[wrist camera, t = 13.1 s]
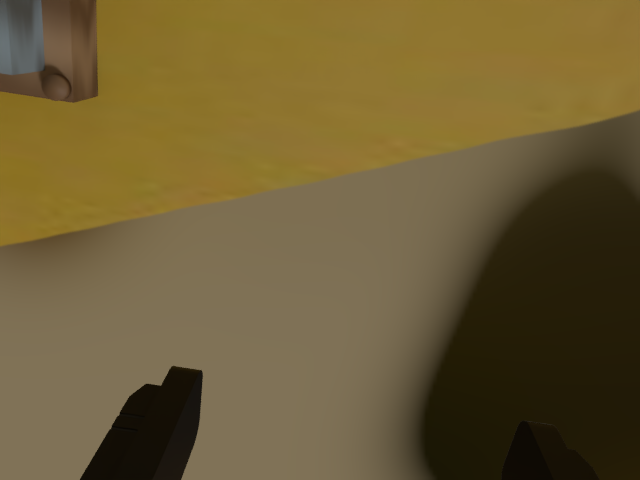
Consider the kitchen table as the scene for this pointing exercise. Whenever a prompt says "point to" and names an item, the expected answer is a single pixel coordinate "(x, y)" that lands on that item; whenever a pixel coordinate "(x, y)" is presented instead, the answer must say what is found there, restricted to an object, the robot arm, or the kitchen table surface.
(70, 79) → the knobbed square tray
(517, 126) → the kitchen table surface
